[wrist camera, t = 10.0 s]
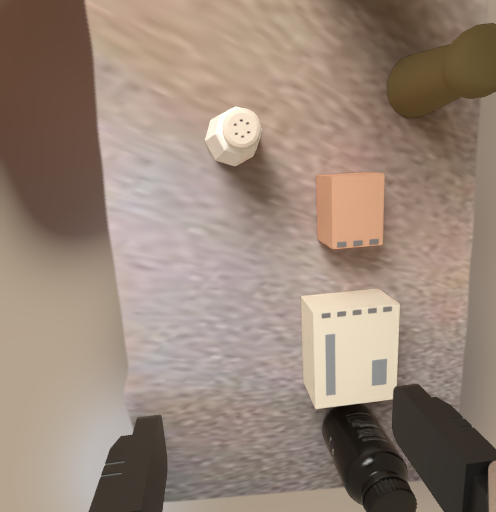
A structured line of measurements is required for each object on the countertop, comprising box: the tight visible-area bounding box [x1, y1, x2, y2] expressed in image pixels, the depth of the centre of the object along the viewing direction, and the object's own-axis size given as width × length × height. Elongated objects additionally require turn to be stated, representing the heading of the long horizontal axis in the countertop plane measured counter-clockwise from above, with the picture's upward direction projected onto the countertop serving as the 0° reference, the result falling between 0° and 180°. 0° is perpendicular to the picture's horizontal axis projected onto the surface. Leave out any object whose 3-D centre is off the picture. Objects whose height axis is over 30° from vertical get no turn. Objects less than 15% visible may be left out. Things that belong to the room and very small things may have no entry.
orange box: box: [316, 172, 384, 249], centre depth 38 cm, size 7×5×5 cm
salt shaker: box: [205, 107, 262, 166], centre depth 32 cm, size 5×5×11 cm
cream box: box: [301, 288, 400, 409], centre depth 41 cm, size 11×9×5 cm
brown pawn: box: [387, 23, 496, 118], centre depth 33 cm, size 6×6×11 cm
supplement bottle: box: [322, 404, 417, 512], centre depth 41 cm, size 7×7×12 cm
